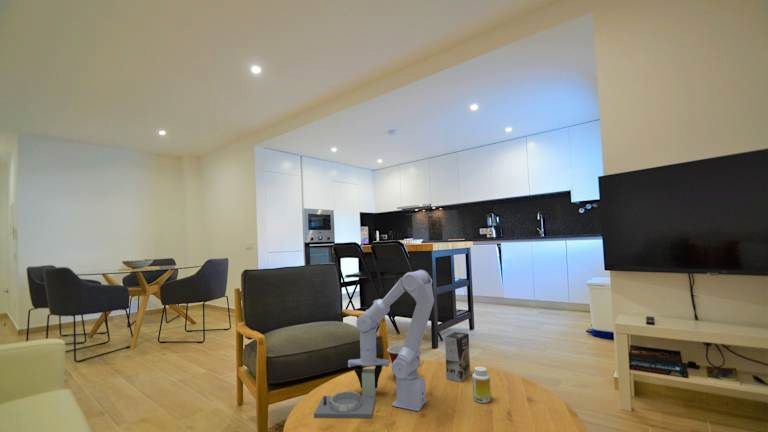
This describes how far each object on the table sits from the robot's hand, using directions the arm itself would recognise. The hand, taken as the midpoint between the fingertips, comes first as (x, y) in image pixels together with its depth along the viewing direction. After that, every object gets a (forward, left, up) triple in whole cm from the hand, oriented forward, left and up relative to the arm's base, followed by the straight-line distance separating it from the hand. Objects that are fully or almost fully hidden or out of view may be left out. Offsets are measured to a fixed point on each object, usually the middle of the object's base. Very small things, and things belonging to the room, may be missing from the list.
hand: (369, 387), depth 123 cm
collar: (+3, +12, -1) cm, 13 cm away
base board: (+2, +12, -2) cm, 12 cm away
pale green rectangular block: (0, 0, -2) cm, 2 cm away
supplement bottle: (-37, -11, -3) cm, 39 cm away
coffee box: (-25, -27, -3) cm, 37 cm away
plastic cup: (-5, -17, -3) cm, 18 cm away
